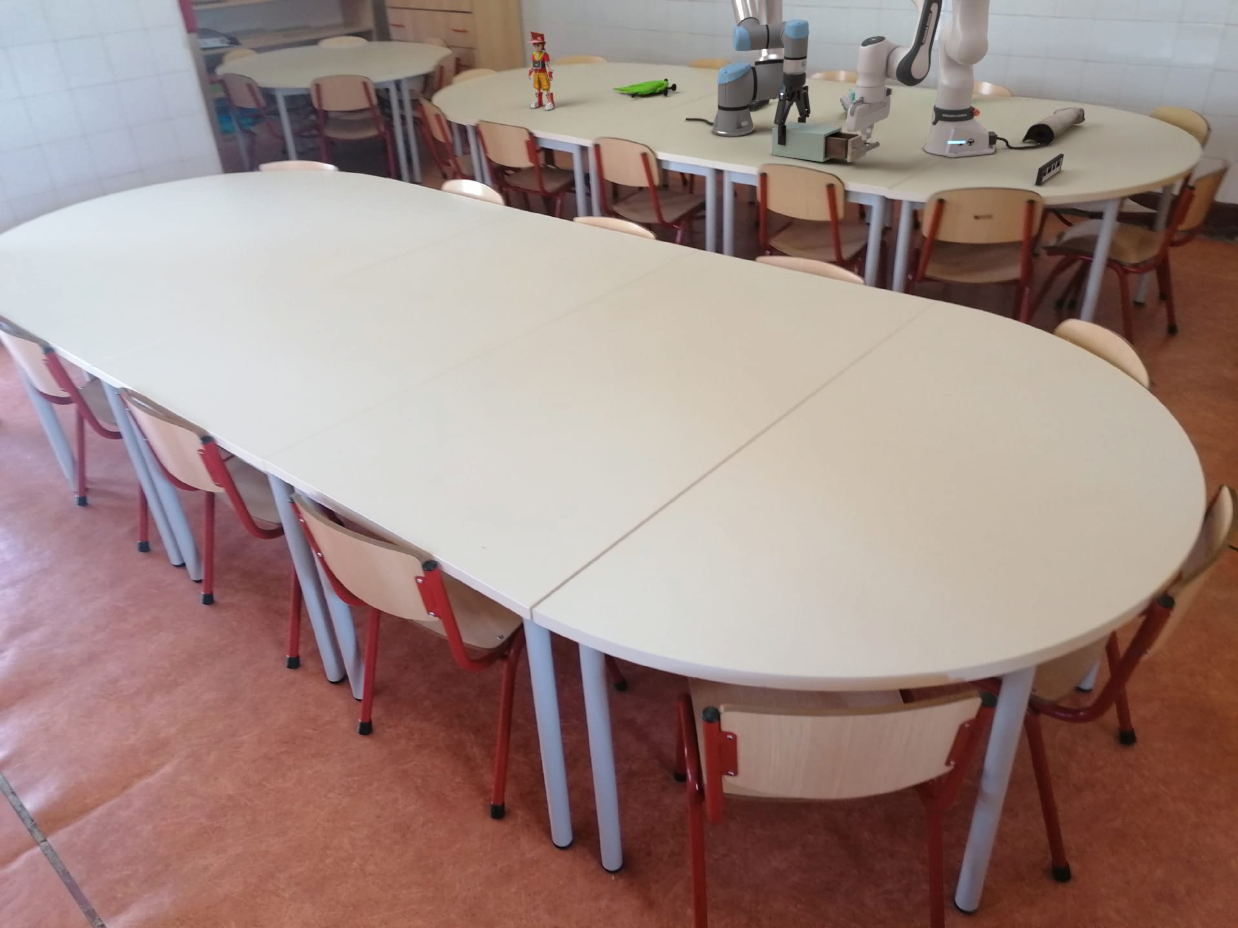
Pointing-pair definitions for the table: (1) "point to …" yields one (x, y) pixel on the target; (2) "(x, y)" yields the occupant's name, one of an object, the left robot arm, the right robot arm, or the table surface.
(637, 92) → the toy
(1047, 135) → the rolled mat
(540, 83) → the toy
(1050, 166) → the midi keyboard
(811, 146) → the cabinet
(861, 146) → the drawer
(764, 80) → the left robot arm
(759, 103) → the disk drive
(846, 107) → the anatomical model
